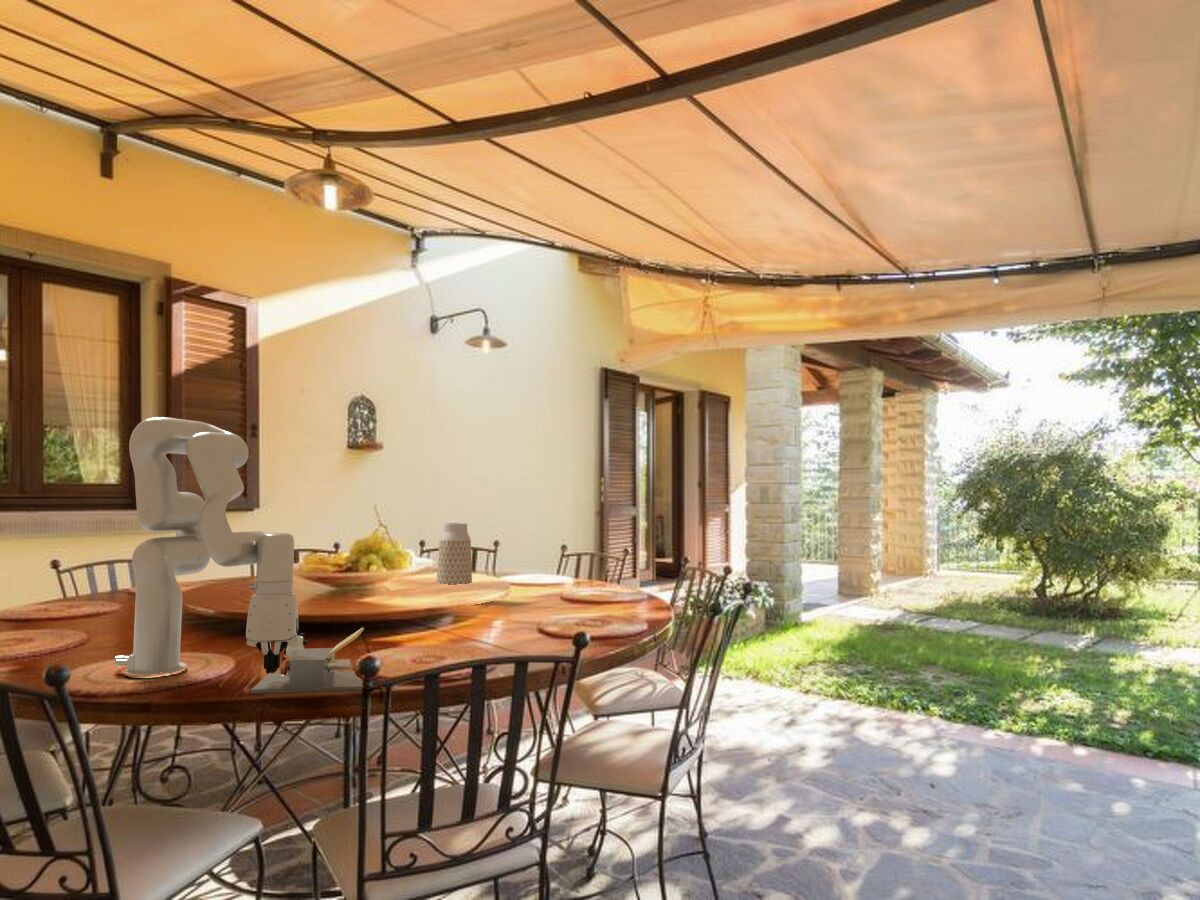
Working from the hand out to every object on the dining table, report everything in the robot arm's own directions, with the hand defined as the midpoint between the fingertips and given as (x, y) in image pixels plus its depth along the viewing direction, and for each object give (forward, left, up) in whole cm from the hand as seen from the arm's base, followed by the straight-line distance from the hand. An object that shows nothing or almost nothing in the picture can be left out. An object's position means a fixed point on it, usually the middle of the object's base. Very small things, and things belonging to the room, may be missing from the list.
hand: (271, 671), depth 162 cm
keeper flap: (+16, 0, +6) cm, 17 cm away
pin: (+9, 0, -1) cm, 9 cm away
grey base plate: (+9, 0, -3) cm, 9 cm away
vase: (+36, +120, -3) cm, 125 cm away
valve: (-1, +24, -3) cm, 24 cm away
